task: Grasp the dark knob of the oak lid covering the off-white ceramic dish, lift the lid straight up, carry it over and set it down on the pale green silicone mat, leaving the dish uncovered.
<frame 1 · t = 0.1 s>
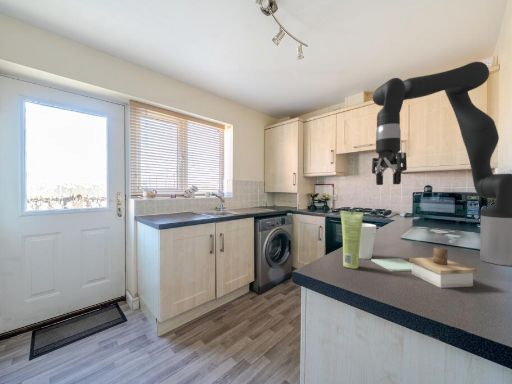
hand: (387, 184, 78), 29 cm above the counter, fingers open, 8 cm apart
tube: (351, 267, 77), on the counter
lid: (440, 266, 66), point 4 cm above the counter, touching dish
mat: (396, 265, 79), on the counter
dish: (440, 279, 66), on the counter
foam cup: (362, 257, 89), on the counter
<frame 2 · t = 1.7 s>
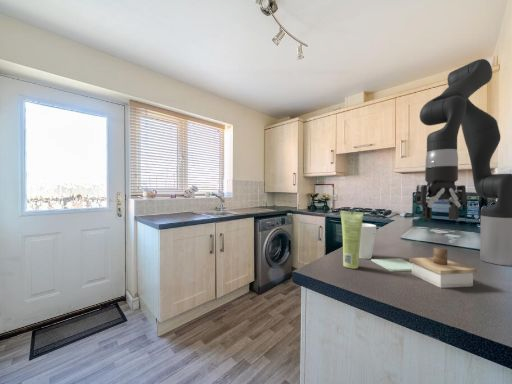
hand: (440, 219, 66), 18 cm above the counter, fingers open, 8 cm apart
nothing on the counter moved.
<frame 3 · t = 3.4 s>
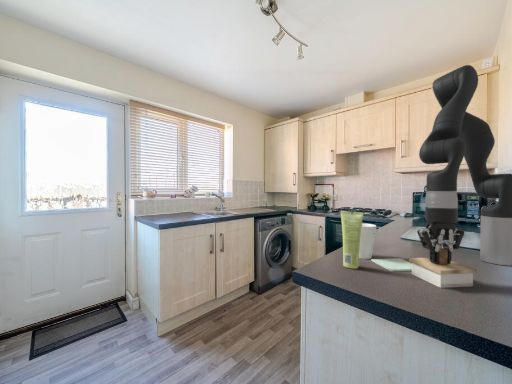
hand: (440, 262, 66), 5 cm above the counter, fingers closed on lid, 3 cm apart
lid: (440, 266, 66), point 4 cm above the counter, touching dish, gripper
everything else where it was.
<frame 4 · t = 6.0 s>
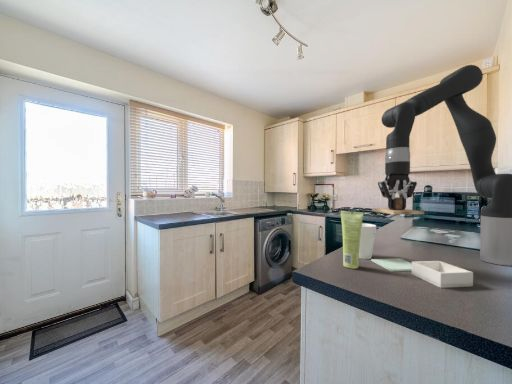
hand: (396, 209, 78), 20 cm above the counter, fingers closed on lid, 3 cm apart
lid: (397, 212, 78), point 19 cm above the counter, touching gripper
everything else where it was.
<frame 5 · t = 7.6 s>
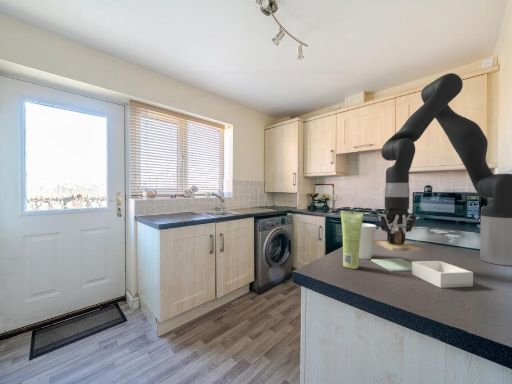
hand: (396, 243, 79), 8 cm above the counter, fingers closed on lid, 3 cm apart
lid: (396, 246, 79), point 7 cm above the counter, touching gripper
everything else where it was.
when the fingers open (3 cm above the counter, at t = 8.7 s): lid drops 2 cm, resting on mat.
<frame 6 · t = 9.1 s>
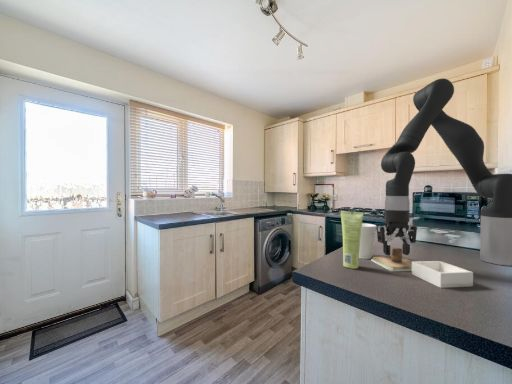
hand: (396, 254, 79), 4 cm above the counter, fingers open, 6 cm apart
lid: (396, 263, 79), point 1 cm above the counter, touching mat
everything else where it was.
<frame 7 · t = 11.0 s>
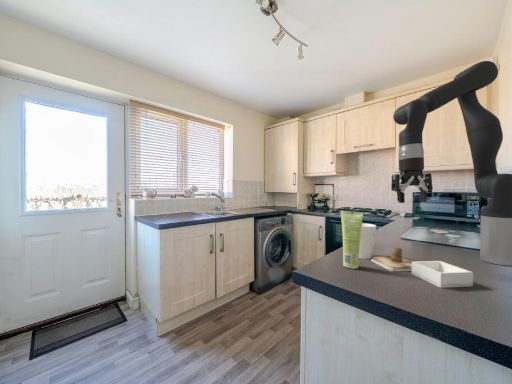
hand: (412, 202, 80), 23 cm above the counter, fingers open, 8 cm apart
nothing on the counter moved.
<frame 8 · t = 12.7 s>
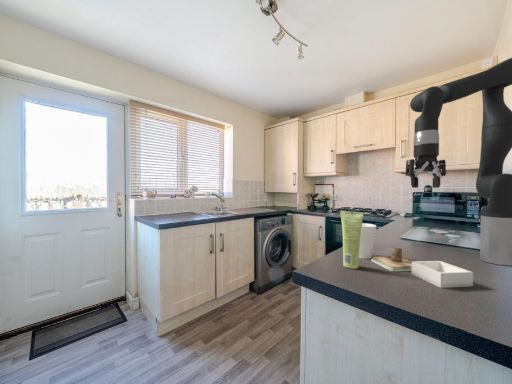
hand: (425, 187, 82), 28 cm above the counter, fingers open, 8 cm apart
nothing on the counter moved.
at the end: lid inside the target area on the mat (0.1 cm from its centre), point 0.6 cm above the mat's base; lid 0.1 cm from the mat (horizontally); lid tilted 0° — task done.
